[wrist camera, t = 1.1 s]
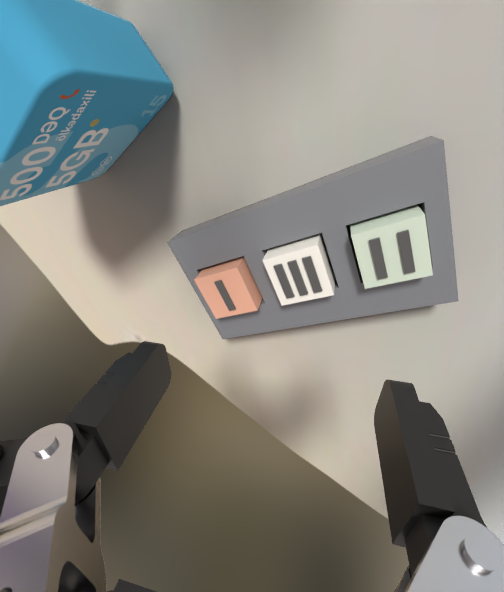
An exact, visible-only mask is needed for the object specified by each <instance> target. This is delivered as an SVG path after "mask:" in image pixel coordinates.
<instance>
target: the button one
mask: <svg viewBox="0 0 504 592" xmlns="http://www.w3.org/2000/svg"><path fill="white" fill-rule="evenodd" d="M194 281H195V283H196V284H197V286H198V288H199V290H200V291H201V293H202V295H203V297H204V299H205V300H206V302H207V304H208V306H209V307H210V309H211V311H212V313H213V315H214V316H215V318H216V319H218V318H223V317H228V316H233V315H238V314H243V313H248V312H253V311H257V310H258V308H259V306H260V303H261V301H262V298H263V297H262V295H261V293H260V291H259V289H258V286H257V284H256V282H255V280H254V278H253V276H252V273H251V271H250V269H249V267H248V265H247V262H246V260H245V258H244V256H242V257H239V258H235V259H232V260H229V261H225V262H222V263H219V264H215V265H212V266H209V267H205V268H203V270H202V271H201V272H200V273H199V274H198V275H197V277H196V278H195V279H194Z"/></svg>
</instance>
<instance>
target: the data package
mask: <svg viewBox="0 0 504 592" xmlns="http://www.w3.org/2000/svg"><path fill="white" fill-rule="evenodd" d="M172 92H173V84H172V82H171V81H170V79H169V78H168V76H167V75H166V73H165V72H164V70H163V69H162V67H161V66H160V64H159V63H158V61H157V60H156V58H155V57H154V55H153V54H152V52H151V51H150V49H149V48H148V46H147V45H146V43H145V42H144V40H143V39H142V37H141V36H140V34H139V33H138V31H137V30H136V28H135V27H134V25H133V24H132V23H131V22H129V21H127V20H125V19H123V18H120V17H118V16H115V15H113V14H110V13H108V12H105V11H103V10H100V9H98V8H95V7H93V6H90V5H88V4H85V3H83V2H80V1H78V0H0V206H2V205H6V204H9V203H13V202H16V201H20V200H23V199H27V198H30V197H33V196H37V195H40V194H44V193H47V192H51V191H54V190H58V189H61V188H64V187H68V186H71V185H75V184H78V183H82V182H85V181H89V180H92V179H94V178H97V177H98V176H100V175H102V174H103V173H104V172H106V171H107V170H108V169H109V168H110V167H111V166H112V164H113V163H114V162H115V161H116V160H117V159H118V158H119V156H120V155H121V154H122V153H123V152H124V151H125V149H126V148H127V147H128V146H129V145H130V144H131V143H132V141H133V140H134V139H135V138H136V137H137V136H138V134H139V133H140V132H141V131H142V130H143V129H144V127H145V126H146V125H147V124H148V123H149V122H150V121H151V119H152V118H153V117H154V116H155V115H156V114H157V112H158V111H159V110H160V109H161V108H162V107H163V106H164V104H165V103H166V102H167V101H168V100H169V98H170V97H171V95H172Z"/></svg>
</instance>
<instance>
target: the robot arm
mask: <svg viewBox="0 0 504 592" xmlns="http://www.w3.org/2000/svg"><path fill="white" fill-rule="evenodd" d="M170 379H171V370H170V366H169V361H168V357H167V352H166V348H165V346H164V345H163V344H159V343H153V342H146V341H144V342H142V343H141V344H140V345H139V346H138V347H137V349H136V350H135V351H134V352H133V353H127V354H126V355H124V356H123V357H121V358H120V359H118V360H117V361H115V362H114V363H113V365H112V366H111V367H110V368H109V369H108V370H107V371H106V374H105V375H103V376H102V377H101V378H100V379H99V381H98V383H97V384H95V385H94V386H93V387H92V388H91V390H90V391H89V392H88V393H87V394H86V395H85V396H84V397H83V399H82V400H81V401H80V402H79V403H78V404H77V405H76V407H75V408H74V409H73V410H72V411H71V412H70V413H69V414H68V416H67V417H66V418H65V419H64V420H63V421H62V422H61V423H57V424H52V425H48V426H46V427H43V428H41V429H39V430H38V431H36V432H35V433H34V434H32V435H31V436H30V437H29V438H25V439H17V440H8V441H0V592H106V572H105V564H104V560H103V556H102V552H101V544H100V504H101V503H100V502H101V500H100V499H101V498H100V497H101V496H100V494H101V482H100V476H101V474H102V473H103V471H104V469H105V468H108V469H112V470H116V471H118V470H119V468H120V466H121V465H122V463H123V461H124V460H125V458H126V456H127V455H128V453H129V451H130V450H131V448H132V446H133V445H134V443H135V441H136V439H137V438H138V436H139V434H140V433H141V431H142V430H143V428H144V426H145V425H146V423H147V421H148V420H149V418H150V416H151V415H152V413H153V411H154V409H155V408H156V406H157V405H158V403H159V401H160V400H161V398H162V396H163V395H164V393H165V391H166V389H167V388H168V386H169V383H170ZM374 426H375V433H376V440H377V446H378V453H379V459H380V466H381V472H382V479H383V485H384V492H385V498H386V505H387V511H388V518H389V524H390V530H391V536H392V543H393V544H395V545H399V546H402V547H406V550H407V555H408V560H409V565H408V567H407V569H406V571H405V572H404V575H403V576H402V578H401V580H400V582H399V583H398V585H397V587H396V589H395V591H394V592H504V544H503V543H502V542H501V541H500V540H499V539H498V538H497V537H496V536H495V534H493V533H492V532H491V531H490V530H489V529H488V528H487V527H486V525H485V524H484V522H483V520H482V518H481V516H480V513H479V511H478V508H477V506H476V503H475V501H474V498H473V495H472V493H471V490H470V488H469V485H468V483H467V480H466V477H465V475H464V472H463V470H462V467H461V464H460V462H459V459H458V457H457V455H456V454H455V449H454V446H453V444H452V441H451V440H450V439H449V437H450V436H449V433H448V431H447V428H446V426H445V423H444V421H443V419H442V417H441V416H440V415H439V414H438V413H437V411H436V410H435V409H434V408H433V406H432V405H431V404H430V403H425V402H419V400H418V397H417V394H416V391H415V388H414V386H413V384H412V383H406V382H400V381H393V380H386V381H385V382H384V385H383V388H382V391H381V394H380V397H379V400H378V403H377V405H376V409H375V415H374ZM107 592H156V591H153V590H150V589H147V588H144V587H141V586H138V585H135V584H132V583H129V582H127V581H123V580H121V579H119V580H118V583H117V585H116V587H115V589H114V590H111V591H107Z"/></svg>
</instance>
